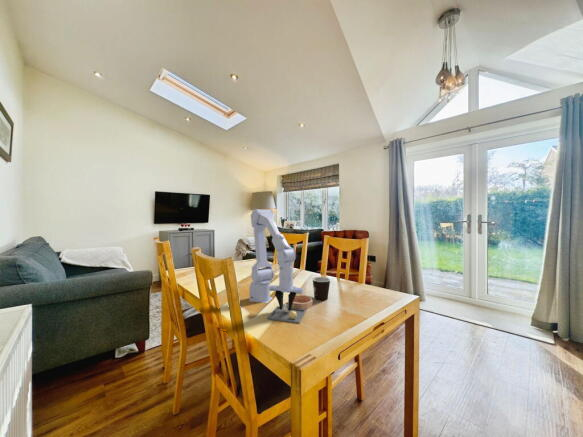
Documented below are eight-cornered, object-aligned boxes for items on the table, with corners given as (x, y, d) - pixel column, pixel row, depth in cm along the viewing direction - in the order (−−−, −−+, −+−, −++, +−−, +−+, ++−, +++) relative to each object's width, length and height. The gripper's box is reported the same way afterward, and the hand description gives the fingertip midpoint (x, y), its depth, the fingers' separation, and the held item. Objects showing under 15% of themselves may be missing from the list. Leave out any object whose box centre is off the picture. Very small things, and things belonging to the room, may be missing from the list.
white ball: (281, 313, 97) (281, 305, 97) (283, 310, 100) (283, 302, 100) (288, 314, 97) (288, 306, 96) (290, 310, 100) (290, 303, 100)
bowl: (285, 308, 103) (285, 302, 103) (291, 300, 114) (291, 293, 114) (309, 311, 100) (309, 304, 100) (314, 302, 111) (314, 296, 111)
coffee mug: (329, 303, 110) (329, 282, 110) (311, 301, 112) (311, 281, 112) (330, 295, 121) (330, 276, 121) (313, 293, 123) (314, 275, 123)
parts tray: (267, 320, 92) (267, 317, 92) (277, 308, 103) (277, 306, 103) (299, 325, 88) (299, 322, 88) (305, 312, 100) (306, 309, 100)
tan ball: (287, 320, 91) (287, 312, 91) (289, 316, 94) (290, 308, 94) (295, 321, 90) (295, 313, 90) (297, 317, 93) (297, 309, 93)
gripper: (266, 278, 96) (266, 310, 96) (300, 281, 92) (300, 315, 93) (272, 273, 103) (272, 304, 103) (304, 276, 99) (304, 308, 100)
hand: (285, 309), depth 98 cm, fingers closed on white ball, 3 cm apart
